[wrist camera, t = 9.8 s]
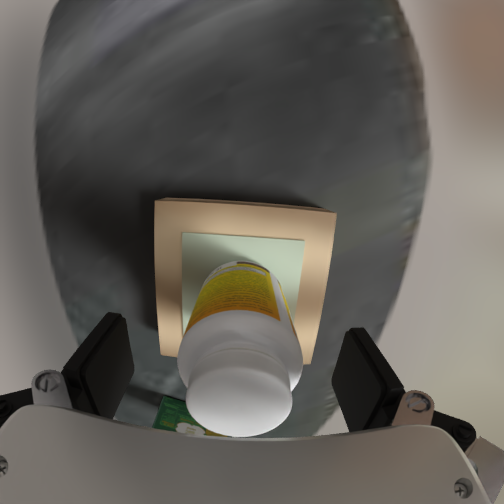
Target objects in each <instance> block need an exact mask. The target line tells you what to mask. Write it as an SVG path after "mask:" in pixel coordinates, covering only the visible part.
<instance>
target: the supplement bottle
mask: <svg viewBox="0 0 504 504" xmlns="http://www.w3.org/2000/svg"><path fill="white" fill-rule="evenodd" d="M177 364H178V370H179V374H180V376H181V379H182V380H183V382H184V384H185V386H186V387H187V392H186V405H187V409H188V411H189V413H190V414H191V416H192V417H193V418H194V419H195V420H196V421H197V422H198V423H199V424H200V425H202V426H203V427H205V428H207V429H208V430H211V431H213V432H215V433H219V434H222V435H227V436H235V437H247V436H254V435H258V434H262V433H265V432H268V431H270V430H272V429H274V428H275V427H277V426H278V425H280V424H281V423H282V422H283V421H284V420H285V419H286V418H287V416H288V415H289V413H290V410H291V407H292V395H291V391H292V390H293V389H294V388H295V386H296V384H297V383H298V381H299V379H300V376H301V373H302V368H303V355H302V350H301V346H300V343H299V340H298V336H297V333H296V330H295V327H294V324H293V321H292V318H291V314H290V311H289V308H288V305H287V302H286V298H285V296H284V293H283V290H282V287H281V285H280V283H279V281H278V280H277V278H276V277H275V276H274V274H273V273H272V272H270V271H269V270H268V269H267V268H265V267H263V266H262V265H259V264H257V263H254V262H250V261H233V262H229V263H226V264H223V265H221V266H219V267H218V268H216V269H215V270H214V271H213V272H212V273H211V274H210V275H209V276H208V277H207V278H206V280H205V282H204V284H203V286H202V288H201V291H200V293H199V296H198V298H197V301H196V303H195V306H194V309H193V311H192V314H191V316H190V319H189V322H188V325H187V327H186V330H185V333H184V336H183V338H182V341H181V344H180V347H179V351H178V356H177Z"/></svg>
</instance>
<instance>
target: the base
mask: <svg viewBox="0 0 504 504" xmlns="http://www.w3.org/2000/svg"><path fill="white" fill-rule="evenodd" d="M336 215H337V213H334V212H332V211H329V210H326V209H323V208H313V207H303V206H293V205H282V204H270V203H257V202H243V201H228V200H210V199H189V198H164V199H160V200H156V201H155V218H154V252H155V284H156V303H157V317H158V329H159V340H160V349H161V355H165V356H173V357H177V356H178V351H179V347H180V344H181V341H182V338H183V336H184V333H185V330H186V327H187V325H188V322H189V319H190V316H191V314H192V311H193V309H194V306H195V303H196V301H197V298H198V296H199V293H200V291H201V288H202V286H203V284H204V282H205V280H206V278H207V277H208V276H209V275H210V274H211V273H212V272H213V271H214V270H215V269H216V268H218V267H219V266H221V265H223V264H226V263H229V262H233V261H250V262H254V263H257V264H259V265H262V266H263V267H265V268H267V269H268V270H269V271H270V272H272V273H273V274H274V276H275V277H276V278H277V280H278V281H279V283H280V285H281V287H282V290H283V293H284V296H285V298H286V302H287V305H288V308H289V311H290V314H291V318H292V321H293V324H294V327H295V330H296V333H297V336H298V340H299V343H300V346H301V350H302V355H303V364H310V363H311V359H312V355H313V350H314V346H315V341H316V337H317V332H318V327H319V322H320V317H321V312H322V307H323V301H324V296H325V290H326V284H327V278H328V272H329V266H330V260H331V253H332V246H333V239H334V231H335V223H336Z"/></svg>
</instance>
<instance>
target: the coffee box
mask: <svg viewBox="0 0 504 504" xmlns="http://www.w3.org/2000/svg"><path fill="white" fill-rule="evenodd" d="M152 428H155V429H160V430H166V431H173V432H180V433H188V434H196V435H206V436H218V437H232V436H227V435H222V434H219V433H215V432H213V431H211V430H208V429H207V428H205V427H203V426H202V425H200V424H199V423H198V422H197V421H196V420H195V419H194V418H193V417H192V416H191V414H190V413H189V411H188V409H187V405H186V403H185V402H183V401H180V400H177V399H173V398H169V397H167V396H163V399H162V401H161V404H160V407H159V410H158V413H157V416H156V418H155V421H154V423H153V426H152Z"/></svg>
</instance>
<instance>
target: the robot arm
mask: <svg viewBox="0 0 504 504" xmlns="http://www.w3.org/2000/svg"><path fill="white" fill-rule="evenodd" d="M63 368H64V369H63V370H62V372H61V373H60V372H58V371H56V370H44V371H41V372H39V373H38V374H36V375H35V376H34V377H33V379H32V383H31V385H32V388H29V389H25V390H21V391H17V392H13V393H9V394H5V395H0V504H493V503H494V502H495V500H496V498H497V496H498V494H499V492H500V490H501V488H502V486H503V484H504V451H503V450H502V449H500V448H498V447H497V446H495V445H494V444H492V443H490V442H489V441H487V440H486V439H484V438H482V437H481V436H480V437H479V438H476V431H475V429H474V428H473V426H472V425H471V424H470V423H468V422H466V421H463V420H460V419H457V418H454V417H451V416H449V415H446V414H443V413H440V412H437V411H435V410H434V402H433V400H432V398H431V397H430V396H429V395H428V394H426V393H424V392H421V391H417V390H411V391H408V392H405V390H404V389H403V388H404V386H403V385H402V383H401V382H400V380H399V379H398V377H397V375H396V374H395V372H394V371H393V369H392V368H391V366H390V365H389V363H388V362H387V360H386V359H385V357H384V356H383V355H382V353H381V352H380V350H379V349H378V347H377V346H376V344H375V343H374V341H373V340H372V338H371V337H370V336H369V334H368V333H367V331H366V330H365V329H364V328H351V329H350V330H349V331H347V332H346V333H345V336H344V340H343V343H342V347H341V350H340V354H339V357H338V360H337V363H336V367H335V370H334V373H333V376H332V386H333V389H334V392H335V394H336V397H337V400H338V402H339V405H340V408H341V410H342V413H343V415H344V418H345V421H346V424H347V427H348V429H349V432H348V433H339V434H331V435H321V436H309V437H293V438H234V437H218V436H206V435H196V434H188V433H180V432H173V431H166V430H160V429H155V428H149V427H144V426H139V425H135V424H130V423H126V422H121V421H117V420H113V417H114V415H115V412H116V410H117V408H118V406H119V404H120V401H121V399H122V397H123V395H124V393H125V390H126V388H127V386H128V384H129V382H130V380H131V378H132V376H133V373H134V363H133V358H132V353H131V348H130V342H129V337H128V331H127V324H126V319H125V318H123V317H122V315H121V314H119V313H112V312H108V313H107V314H106V315H105V316H104V317H103V319H102V320H101V321H100V322H99V323H98V324H97V326H96V327H95V328H94V329H93V331H92V332H91V333H90V334H89V335H88V337H87V338H86V339H85V340H84V342H83V343H82V344H81V345H80V347H79V348H78V349H77V350H76V352H75V353H74V354H73V356H72V357H71V358H70V359H69V361H68V362H67V363H66V365H65V366H64V367H63Z"/></svg>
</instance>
